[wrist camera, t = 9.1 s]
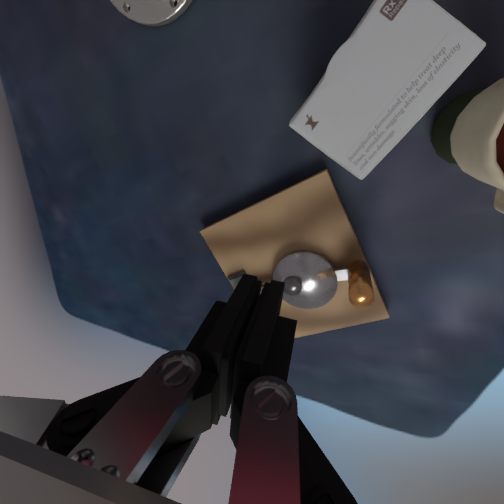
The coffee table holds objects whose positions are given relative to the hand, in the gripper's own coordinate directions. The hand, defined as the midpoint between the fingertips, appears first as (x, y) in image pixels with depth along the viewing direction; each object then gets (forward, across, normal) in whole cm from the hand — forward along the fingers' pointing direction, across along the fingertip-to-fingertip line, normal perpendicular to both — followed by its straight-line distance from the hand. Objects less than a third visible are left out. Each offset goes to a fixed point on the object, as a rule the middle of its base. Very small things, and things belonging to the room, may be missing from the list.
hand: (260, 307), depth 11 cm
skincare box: (+24, -4, -8) cm, 26 cm away
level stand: (+23, 0, +12) cm, 26 cm away
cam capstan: (+22, -1, +13) cm, 25 cm away
